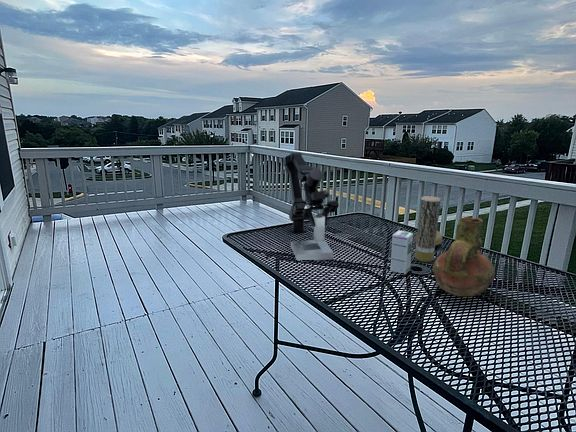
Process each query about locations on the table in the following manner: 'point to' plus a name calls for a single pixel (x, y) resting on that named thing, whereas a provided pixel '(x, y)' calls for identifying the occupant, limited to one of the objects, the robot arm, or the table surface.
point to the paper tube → (427, 228)
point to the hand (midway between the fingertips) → (320, 225)
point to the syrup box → (401, 251)
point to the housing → (311, 250)
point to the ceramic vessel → (464, 262)
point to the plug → (319, 228)
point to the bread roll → (438, 238)
